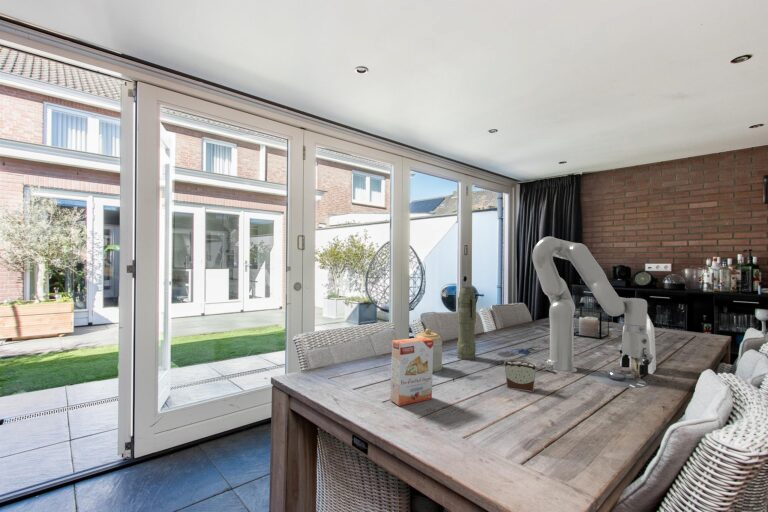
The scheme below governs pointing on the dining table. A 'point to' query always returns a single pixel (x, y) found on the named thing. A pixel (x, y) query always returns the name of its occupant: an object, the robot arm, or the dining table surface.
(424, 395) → the cracker box
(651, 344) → the milk
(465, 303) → the thermos
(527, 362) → the food container
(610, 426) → the dining table surface
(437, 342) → the jar
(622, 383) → the dial board
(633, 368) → the lever
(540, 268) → the robot arm
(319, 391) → the dining table surface
